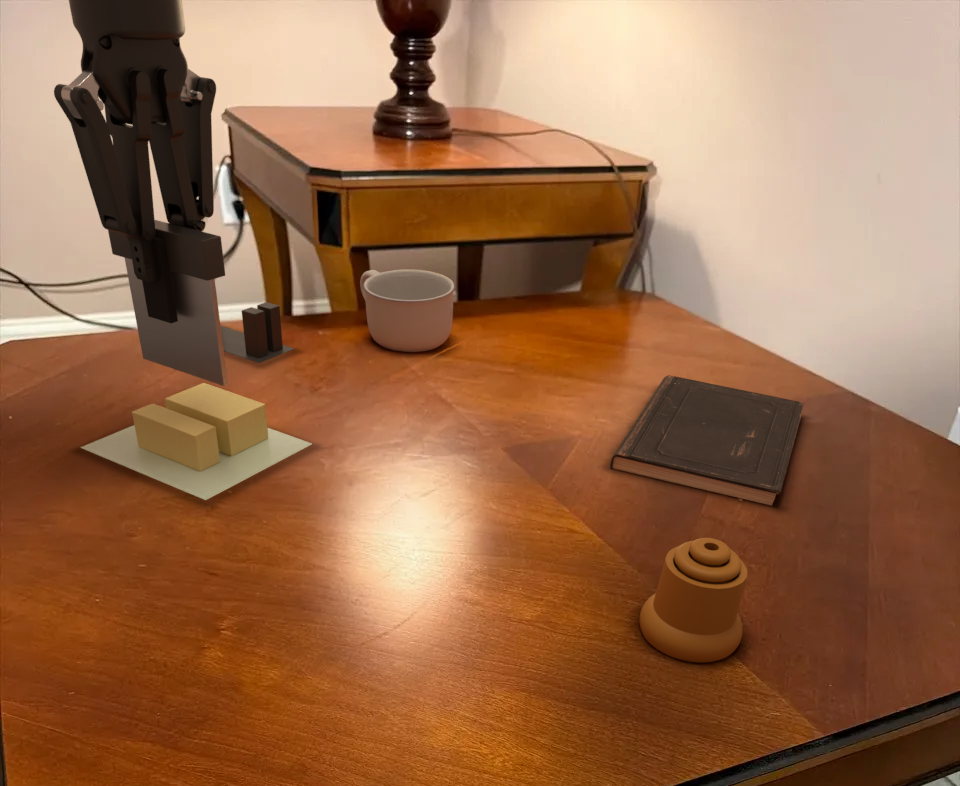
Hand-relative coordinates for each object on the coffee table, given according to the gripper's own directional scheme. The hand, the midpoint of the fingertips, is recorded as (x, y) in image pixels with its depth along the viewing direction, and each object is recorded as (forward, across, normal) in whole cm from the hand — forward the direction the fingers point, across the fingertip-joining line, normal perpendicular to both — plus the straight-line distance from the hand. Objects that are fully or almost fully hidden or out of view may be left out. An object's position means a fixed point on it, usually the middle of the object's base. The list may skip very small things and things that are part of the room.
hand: (175, 314), depth 74 cm
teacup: (+13, +38, +3) cm, 40 cm away
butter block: (+12, +3, 0) cm, 13 cm away
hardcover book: (+14, +34, -39) cm, 54 cm away
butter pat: (+12, -2, 0) cm, 13 cm away
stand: (+13, +22, +17) cm, 31 cm away
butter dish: (+13, 0, 0) cm, 13 cm away
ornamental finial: (+14, +2, -49) cm, 51 cm away
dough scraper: (+5, 0, 0) cm, 5 cm away
